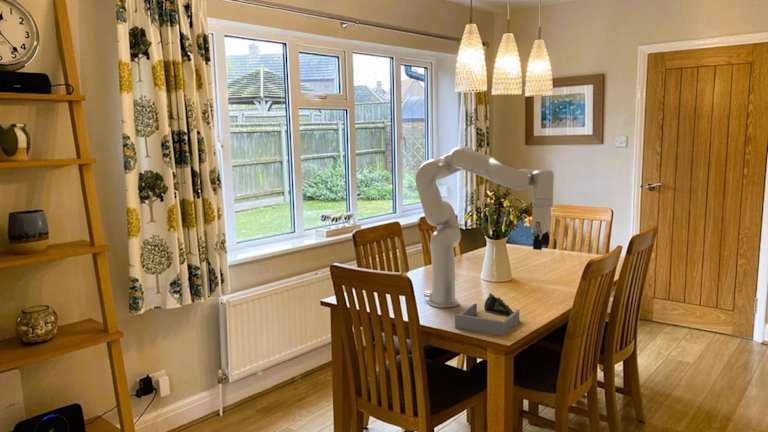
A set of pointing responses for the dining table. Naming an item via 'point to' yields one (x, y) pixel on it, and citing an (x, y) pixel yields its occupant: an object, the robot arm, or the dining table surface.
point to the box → (484, 322)
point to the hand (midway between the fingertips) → (541, 247)
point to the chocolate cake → (497, 306)
